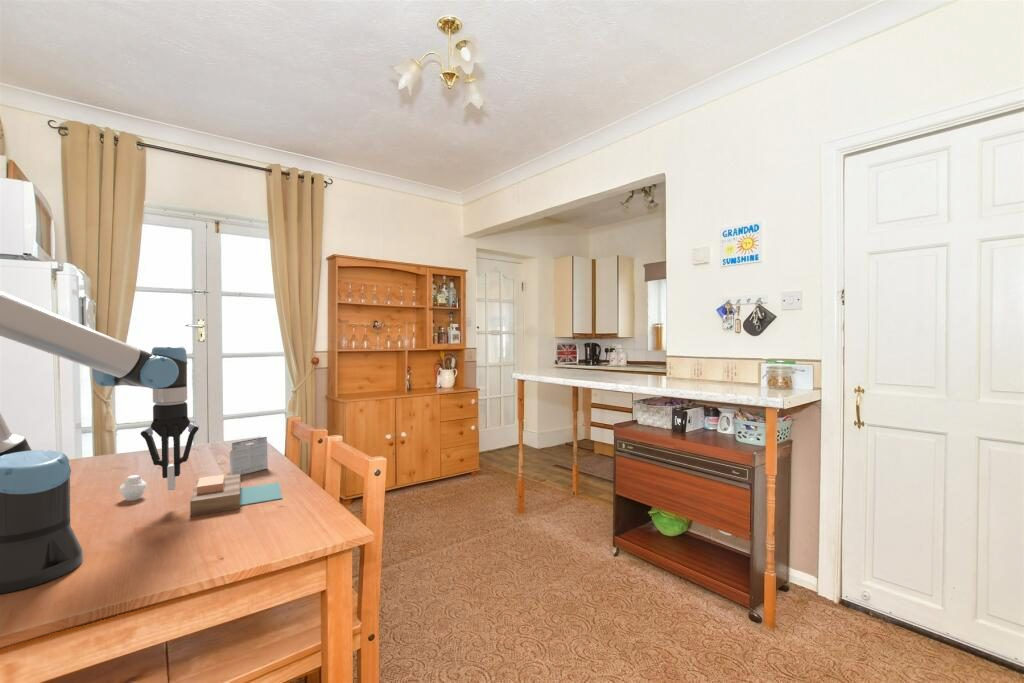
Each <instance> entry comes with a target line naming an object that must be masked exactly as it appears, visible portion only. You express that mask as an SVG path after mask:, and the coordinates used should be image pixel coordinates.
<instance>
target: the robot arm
mask: <svg viewBox="0 0 1024 683" xmlns="http://www.w3.org/2000/svg"><path fill="white" fill-rule="evenodd" d="M0 337H3V338H6V339H8V340H11V341H14V342H17V343H20V344H22V345H25V346H28V347H31V348H34V349H37V350H39V351H43V352H45V353H48V354H51V355H54V356H57V357H60V358H62V359H65V360H68V361H71V362H74V363H77V364H79V365H83V366H85V367H88V368H91V369H92V370H91V371H92V377H93V380H94V382H95V384H96V385H97V386H99V387H117V386H119V387H120V386H130V387H139V388H148V389H152V403H153V404H154V405H153V406H152V422H151V424H150V426H149V427H148V428H145V429H143V430H141V432H140V436H141V437H142V438H143V439H144V440H145V443H146V445H147V448H148V451H149V454H150V458H151V460H152V463H153V466H160V467H161V471H162V472H161V473H162V474H161V475H162V478H163V479H166V480H167V491H174V490H175V489H176V487H177V486H176V484H177V483H176V479H177V478H176V477H179V476H180V475H181V464H183V463H186V462H187V461H188V459H189V456H190V453H191V449H192V445H193V442H194V439H195V435H196V433H197V432H198V431H199V429H200V426H199V425H198V424H193V423H191V421H190V419H189V417H188V416H189V414H188V403H187V402H186V401H187V400H188V380H187V379H188V356H187V350H186V348H185V347H184V346H174V345H173V346H172V345H171V346H154V347H152V349H151V353H150V352H148V351H145V350H142V349H140V348H138V347H136V346H133V345H131V344H128V343H126V342H123V341H121V340H119V339H117V338H114V337H112V336H109V335H107V334H104V333H102V332H99V331H97V330H95V329H92V328H90V327H87V326H85V325H83V324H80V323H79V322H75V321H73V320H71V319H68V318H66V317H64V316H62V315H59V314H56V313H54V312H52V311H49V310H46V308H45V309H44V308H42V307H39V306H37V305H35V304H32V303H30V302H27V301H26V300H22V299H20V298H19V297H16V296H13V295H11V294H8V293H6V292H4V291H1V290H0ZM187 428H188V429H187ZM186 429H187V430H188V433H189V434H188V436H187V437H188V438H187V441H186V444H185V448H184V452H183V454H182V456H181V435H182V434H183V433H184V432H185V430H186ZM153 431H154V432H155V433H156V434H157V435H158V436H159V438H161V441H160V442H161V456H160V455H159V452H158V448H157V446H156V443H155V440H154V437H153V434H154V432H153ZM170 437H172V441H173V463H170V460H169V458H170V455H169V453H170V452H169V450H170V448H169V443H170V442H169V438H170ZM160 457H161V458H160ZM169 463H170V464H169ZM71 472H72V469H71V466H70V460H69V457H68V456H67V455H66V454H64V452H60V451H57V450H50V449H49V450H44V449H36V450H32V448H31V447H30V445H29V443H28V441H27V439H26V437H25V435H21V434H17V433H13V432H12V431H11V430H10V428H9V426H8V425H7V423H6V421H5V419H4V417H3V415H2V413H1V412H0V594H5V593H11V592H16V591H22V590H24V589H29V588H32V587H35V586H38V585H42V584H45V583H48V582H50V581H53V580H55V579H58V578H60V577H63V576H65V575H66V574H68V573H70V572H72V571H74V570H75V569H77V568H78V567H80V565H81V564H82V563H83V560H84V558H83V556H84V555H83V551H84V550H83V548H82V546H81V543H80V542H79V540H78V538H77V536H76V534H75V532H74V530H73V528H72V526H71V474H72V473H71Z"/></svg>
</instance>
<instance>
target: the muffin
mask: <svg viewBox="0 0 1024 683" xmlns="http://www.w3.org/2000/svg"><path fill="white" fill-rule="evenodd" d="M147 486H148V483H147V482H146V481H144V480H143V479H142V477H141V476H140V475H138V474H132V475H129V476H127V477H125V481H124V482H123V484H122V485H120V486H119V489H118V490H119V492H120V495H121V496H122V497H123V498H124V499H125V501H127V502H130V501H136V500H140V499H141V498H142V496H143V494H144V493H145V491H146V488H147Z"/></svg>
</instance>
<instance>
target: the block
mask: <svg viewBox="0 0 1024 683" xmlns="http://www.w3.org/2000/svg"><path fill="white" fill-rule="evenodd" d="M224 476H225V474H219V475H210V476H204V477H199V479H198V480H199V482H198V485H197V494H202V493H209V492H216V491H222V490H223V487H224Z"/></svg>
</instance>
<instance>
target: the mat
mask: <svg viewBox="0 0 1024 683" xmlns="http://www.w3.org/2000/svg"><path fill="white" fill-rule="evenodd" d="M279 500H283V495H282V492H281V487H280V483H279V481H277V482H272V483H265V484H259V485H251V486H250V485H249V486H243V487H240V507H242V506H248V505H255V504H260V503H265V502H271V501H279Z"/></svg>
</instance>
